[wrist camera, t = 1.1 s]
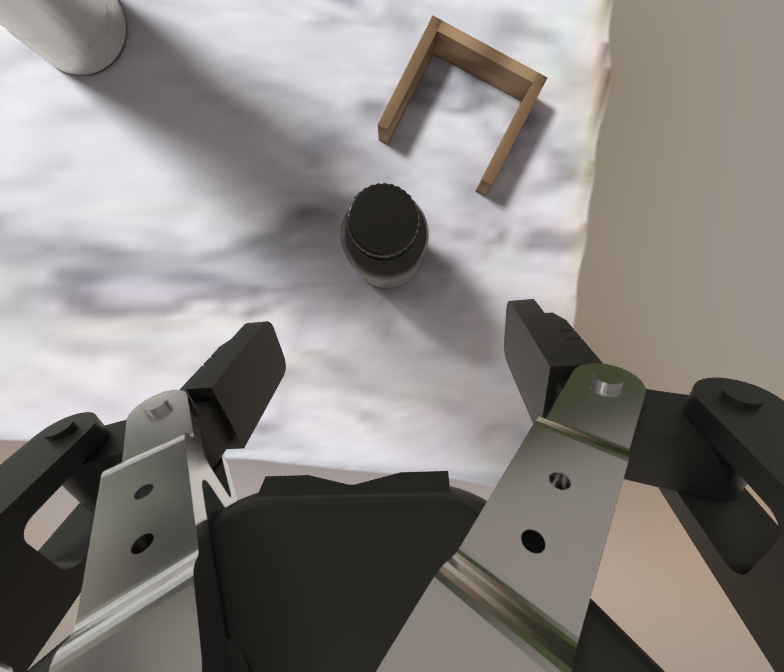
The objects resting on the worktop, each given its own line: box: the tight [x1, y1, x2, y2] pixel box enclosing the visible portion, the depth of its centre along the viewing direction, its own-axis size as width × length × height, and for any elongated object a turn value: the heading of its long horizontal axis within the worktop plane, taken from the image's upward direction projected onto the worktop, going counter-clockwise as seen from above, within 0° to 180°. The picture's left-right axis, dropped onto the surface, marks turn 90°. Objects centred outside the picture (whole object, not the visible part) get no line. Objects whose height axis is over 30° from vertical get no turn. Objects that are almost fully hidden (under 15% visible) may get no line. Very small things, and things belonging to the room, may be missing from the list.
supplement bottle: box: [341, 183, 429, 289], centre depth 27 cm, size 7×7×12 cm
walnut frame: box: [378, 16, 547, 195], centre depth 31 cm, size 12×11×2 cm
